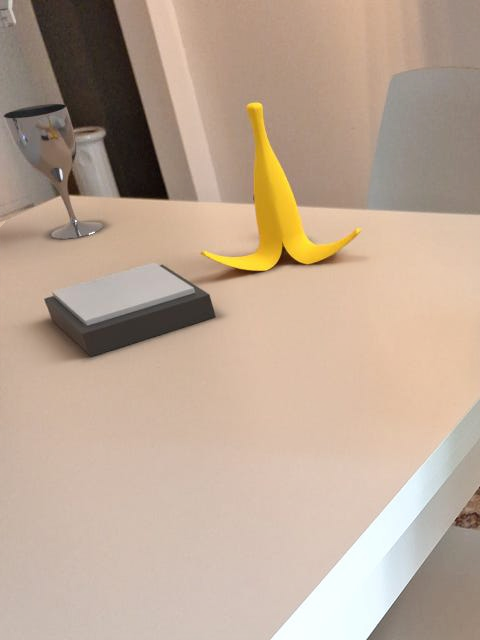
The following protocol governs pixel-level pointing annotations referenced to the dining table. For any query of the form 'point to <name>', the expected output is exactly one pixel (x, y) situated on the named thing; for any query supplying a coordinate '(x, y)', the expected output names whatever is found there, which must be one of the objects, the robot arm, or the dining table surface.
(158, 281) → the scale
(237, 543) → the dining table surface
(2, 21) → the robot arm
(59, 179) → the wine glass
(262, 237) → the banana peel
